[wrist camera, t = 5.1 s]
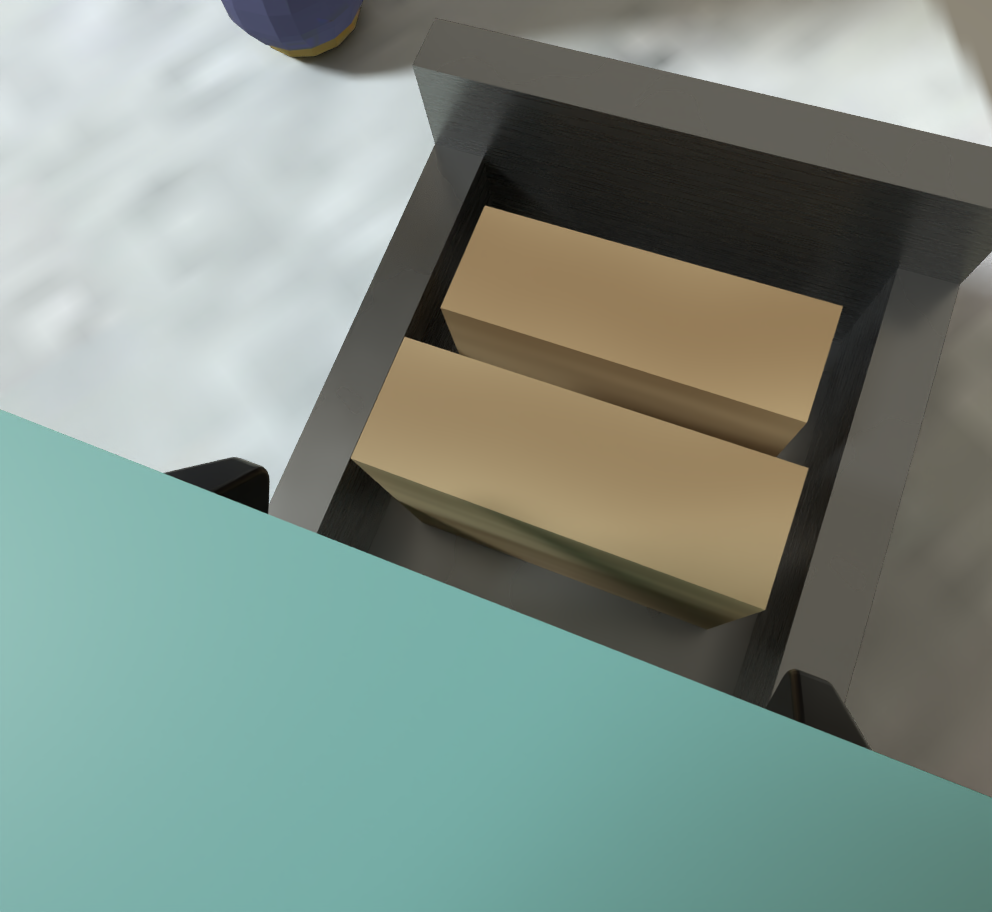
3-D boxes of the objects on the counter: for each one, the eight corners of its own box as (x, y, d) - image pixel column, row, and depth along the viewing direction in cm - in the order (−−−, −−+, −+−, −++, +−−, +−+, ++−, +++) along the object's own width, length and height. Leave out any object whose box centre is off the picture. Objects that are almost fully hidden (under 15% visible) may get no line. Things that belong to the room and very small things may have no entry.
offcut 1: (751, 484, 15) (806, 422, 12) (474, 391, 17) (440, 307, 13) (780, 394, 16) (842, 306, 12) (507, 310, 17) (484, 205, 13)
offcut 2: (707, 629, 15) (765, 610, 10) (422, 522, 16) (350, 458, 11) (738, 532, 15) (809, 467, 10) (458, 434, 16) (404, 336, 12)
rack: (693, 1003, 14) (776, 1258, 8) (233, 784, 16) (17, 854, 10) (886, 344, 17) (1055, 161, 11) (476, 226, 19) (424, 15, 13)
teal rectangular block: (653, 825, 13) (970, 1533, 2) (333, 687, 14) (-432, 728, 3) (690, 708, 13) (1103, 842, 3) (377, 583, 14) (-186, 336, 4)
